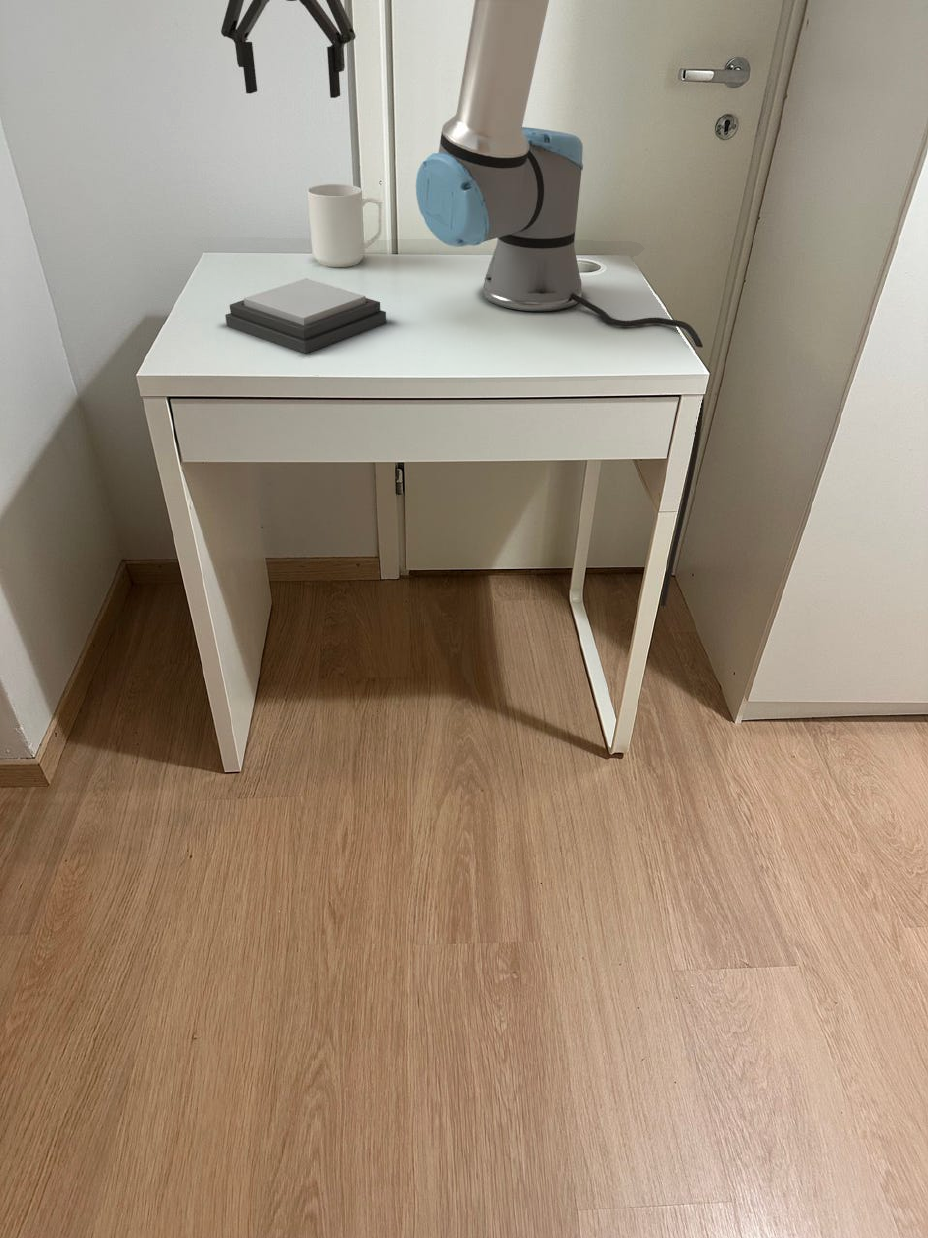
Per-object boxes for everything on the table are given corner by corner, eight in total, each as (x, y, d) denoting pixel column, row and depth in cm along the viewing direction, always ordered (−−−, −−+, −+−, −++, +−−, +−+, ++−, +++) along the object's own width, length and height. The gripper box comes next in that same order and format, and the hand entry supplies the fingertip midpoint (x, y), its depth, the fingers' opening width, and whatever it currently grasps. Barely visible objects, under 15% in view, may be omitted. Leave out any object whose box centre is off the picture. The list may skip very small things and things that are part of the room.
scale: (386, 322, 127) (385, 301, 125) (305, 354, 117) (303, 331, 115) (308, 298, 135) (306, 277, 133) (226, 325, 125) (223, 304, 123)
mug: (312, 268, 146) (306, 196, 139) (313, 253, 153) (308, 183, 146) (384, 268, 147) (382, 196, 140) (382, 252, 154) (380, 183, 147)
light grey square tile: (366, 305, 125) (365, 295, 124) (304, 327, 118) (303, 317, 117) (306, 287, 131) (306, 277, 130) (244, 307, 123) (243, 297, 122)
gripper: (371, -79, 124) (377, 94, 137) (206, -83, 128) (227, 87, 141) (355, -80, 119) (363, 101, 132) (183, -84, 122) (207, 93, 135)
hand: (293, 94), depth 136 cm, fingers open, 13 cm apart
